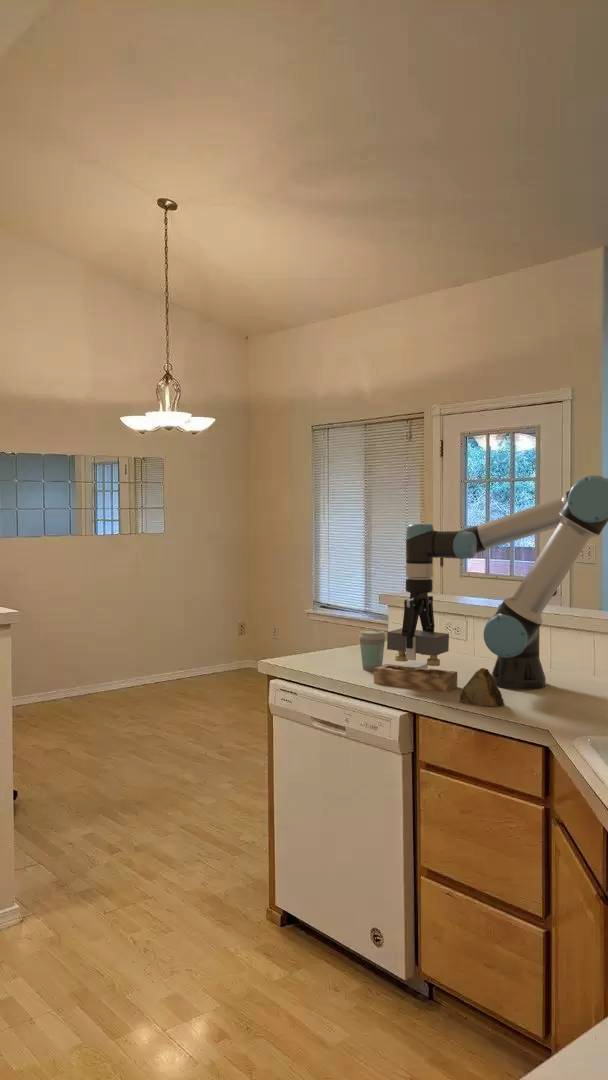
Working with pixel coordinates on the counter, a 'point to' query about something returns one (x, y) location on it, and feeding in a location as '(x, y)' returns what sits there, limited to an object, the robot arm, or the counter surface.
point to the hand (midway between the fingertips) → (418, 657)
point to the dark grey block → (419, 644)
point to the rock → (482, 690)
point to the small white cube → (416, 664)
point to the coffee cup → (372, 648)
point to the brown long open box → (415, 677)
